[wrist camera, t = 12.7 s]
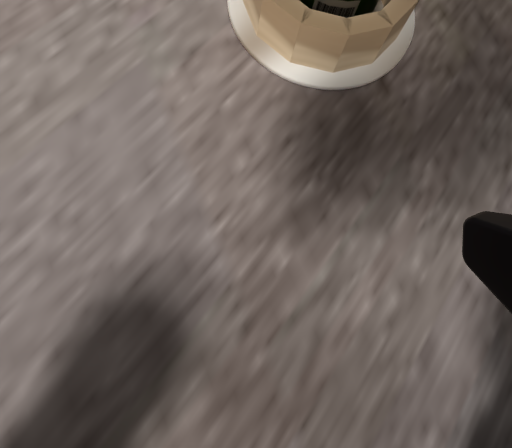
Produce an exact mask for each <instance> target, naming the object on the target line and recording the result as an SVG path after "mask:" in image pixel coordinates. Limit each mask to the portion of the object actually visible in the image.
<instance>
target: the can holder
mask: <svg viewBox="0 0 512 448" xmlns="http://www.w3.org/2000/svg"><path fill="white" fill-rule="evenodd" d="M418 1H419V0H379V1H378V3H377V5H376V7H375V9H374V11H373V13H368V14H363V15H358V16H353V17H349V18H345V17H341V16H337V15H333V14H329V13H325V12H321V11H317V10H313V9H310V8H308V7H307V6H306V5H304V4H303V3H302V2H301V1H299V0H227V6H228V13H229V18H230V21H231V25H232V27H233V30H234V32H235V34H236V36H237V38H238V39H239V41H240V42H241V44H242V45H243V47H244V48H245V49H246V50H247V52H248V53H249V54H250V55H251V56H252V57H253V58H254V59H255V60H256V61H257V62H258V63H259V64H261V65H262V66H263V67H265V68H266V69H268V70H269V71H270V72H272V73H274V74H275V75H277V76H279V77H281V78H283V79H285V80H287V81H290V82H292V83H295V84H298V85H301V86H305V87H309V88H314V89H320V90H346V89H352V88H357V87H361V86H364V85H367V84H370V83H372V82H374V81H376V80H378V79H380V78H381V77H383V76H384V75H386V74H387V73H389V72H390V71H391V70H392V69H393V68H394V67H395V66H396V65H397V64H398V63H399V61H400V60H401V59H402V57H403V56H404V54H405V53H406V51H407V49H408V47H409V46H410V43H411V40H412V37H413V34H414V28H415V11H414V8H415V6H416V5H417V3H418Z"/></svg>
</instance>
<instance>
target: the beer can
mask: <svg viewBox="0 0 512 448" xmlns="http://www.w3.org/2000/svg"><path fill="white" fill-rule="evenodd" d="M299 1H301V2H302V3H303V4H304V5H306V6H307V7H308V8H310V9H313V10H317V11H321V12H325V13H329V14H333V15H337V16H341V17H345V18H349V17H353V16H358V15H363V14H368V13H373V11H374V9H375V7H376V5H377V3H378V1H379V0H299Z"/></svg>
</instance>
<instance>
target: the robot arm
mask: <svg viewBox="0 0 512 448" xmlns="http://www.w3.org/2000/svg"><path fill="white" fill-rule="evenodd" d="M462 255H463V258H464V261H465V263H466V264H467V266H468V267H469V268H470V269H471V270H472V271H473V272H474V273H475V274H476V276H477V277H478V278H479V279H480V280H481V281H482V282H483V283H484V284H485V285H486V286H487V287H488V289H489V290H490V291H491V292H492V293H493V294H494V295H495V296H496V297H497V298H498V299H499V300H500V302H501V303H502V304H503V305H504V306H505V307H506V308H507V309H508V310H509V311H510V312H511V313H512V215H511V214H503V213H496V212H488V211H485V212H481V213H478V214H476V215H473V216H471V217H469V218H467V219H466V220H465V222H464V224H463V246H462Z"/></svg>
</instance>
